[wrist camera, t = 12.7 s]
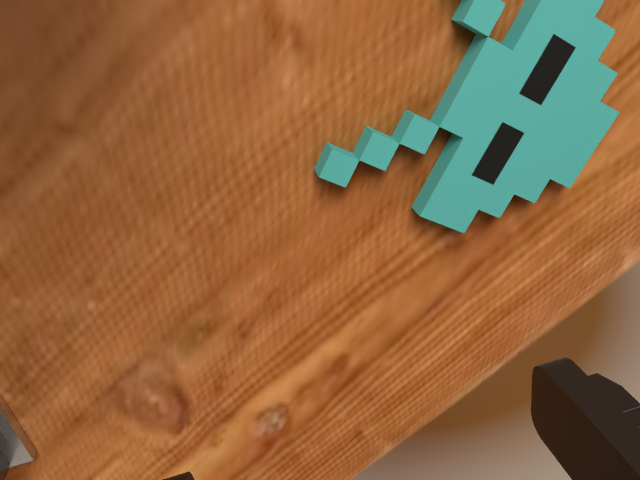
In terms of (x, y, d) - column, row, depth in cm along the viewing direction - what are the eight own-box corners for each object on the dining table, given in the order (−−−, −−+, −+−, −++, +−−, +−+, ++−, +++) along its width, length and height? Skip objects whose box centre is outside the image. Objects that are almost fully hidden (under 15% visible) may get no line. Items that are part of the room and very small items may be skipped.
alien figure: (312, 167, 39) (510, 244, 47) (319, 177, 37) (524, 256, 45) (445, -118, 33) (651, 25, 40) (461, -124, 31) (674, 28, 38)
